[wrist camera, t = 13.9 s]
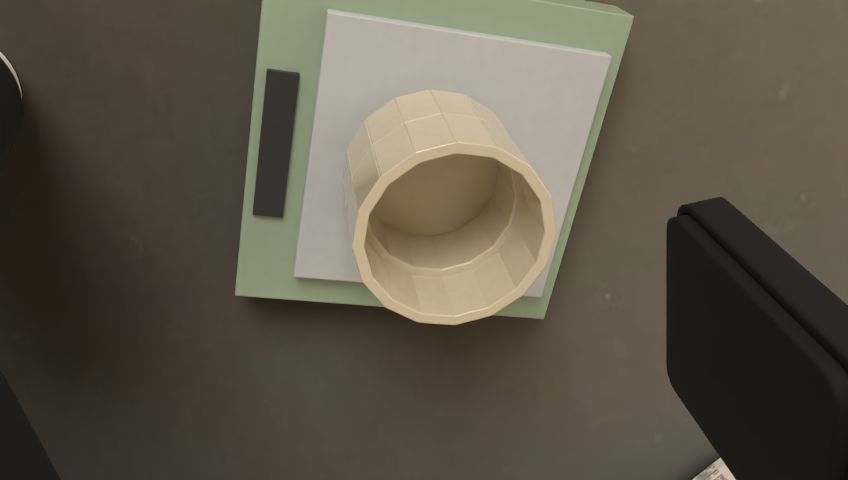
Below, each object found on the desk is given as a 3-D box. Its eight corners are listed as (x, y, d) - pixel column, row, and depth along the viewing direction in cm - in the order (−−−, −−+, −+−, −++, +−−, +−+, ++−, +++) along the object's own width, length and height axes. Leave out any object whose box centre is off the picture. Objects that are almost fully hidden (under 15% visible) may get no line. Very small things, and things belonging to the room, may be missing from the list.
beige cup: (331, 236, 32) (340, 317, 27) (355, 74, 29) (370, 131, 24) (490, 251, 34) (527, 331, 29) (528, 98, 31) (578, 157, 26)
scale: (237, 272, 36) (233, 303, 33) (267, -55, 29) (265, -44, 27) (532, 296, 39) (548, 326, 36) (615, 5, 32) (640, 20, 30)
